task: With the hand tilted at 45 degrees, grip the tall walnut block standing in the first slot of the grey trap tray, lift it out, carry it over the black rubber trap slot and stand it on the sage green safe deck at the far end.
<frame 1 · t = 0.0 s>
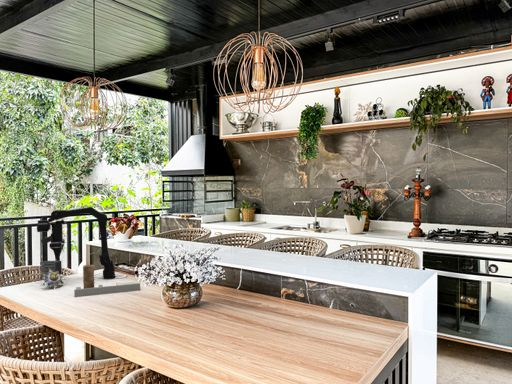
hand: (57, 257, 232), 15 cm above the table, tool pointing down, fingers open, 9 cm apart
trap tray: (108, 290, 211), on the table
walnut block: (89, 292, 208), resting in trap tray
small box: (51, 278, 245), on the table
passion flower: (52, 287, 220), on the table
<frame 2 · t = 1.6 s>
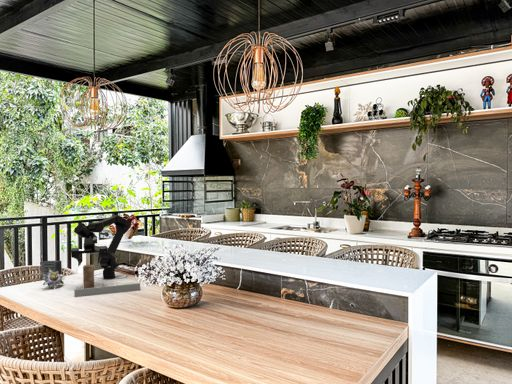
hand: (89, 264, 215), 13 cm above the table, tool tilted 45°, fingers open, 9 cm apart
nothing on the table moved.
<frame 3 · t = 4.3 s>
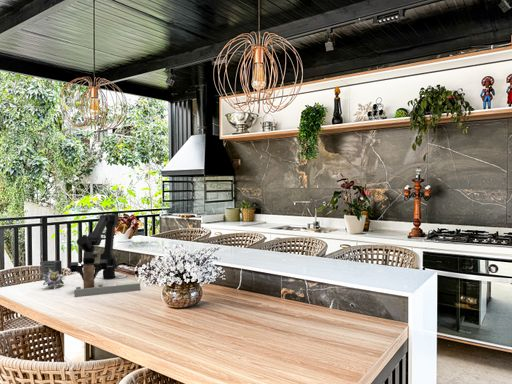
hand: (88, 279, 207), 7 cm above the table, tool tilted 45°, fingers closed on walnut block, 5 cm apart
walnut block: (89, 292, 208), resting in trap tray, touching gripper
everything else where it was.
when the fingers open (10 cm above the table, at t = 8.7 s): walnut block drops 1 cm, resting on trap tray.
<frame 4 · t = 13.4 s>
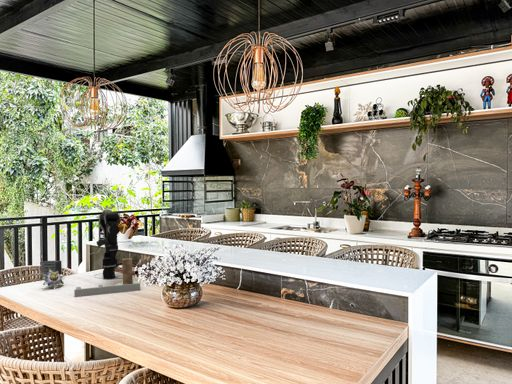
hand: (112, 260, 228), 13 cm above the table, tool pointing down, fingers open, 9 cm apart
walnut block: (127, 284, 214), point 2 cm above the table, touching trap tray
everything else where it was.
at the end: walnut block inside the target area (0.0 cm from its centre), point 2.0 cm above the table; walnut block tilted 0°; the gripper is holding nothing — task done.
